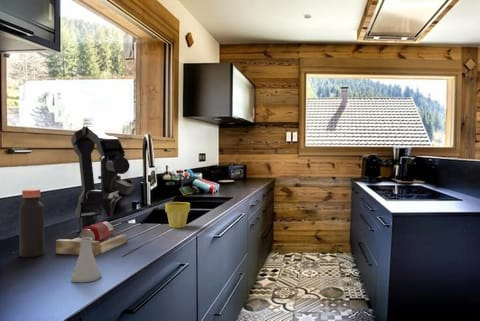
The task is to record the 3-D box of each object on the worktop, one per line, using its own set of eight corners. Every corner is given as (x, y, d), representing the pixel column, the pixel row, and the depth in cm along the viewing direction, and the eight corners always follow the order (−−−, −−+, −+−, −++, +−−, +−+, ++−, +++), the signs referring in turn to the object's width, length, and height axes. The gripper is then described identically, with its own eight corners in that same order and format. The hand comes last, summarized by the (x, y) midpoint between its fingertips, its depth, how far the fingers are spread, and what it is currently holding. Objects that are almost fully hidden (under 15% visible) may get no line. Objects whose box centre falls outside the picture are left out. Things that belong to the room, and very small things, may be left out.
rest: (56, 253, 118) (55, 240, 118) (90, 240, 136) (90, 229, 136) (95, 255, 115) (95, 242, 115) (126, 242, 133) (126, 230, 133)
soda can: (109, 217, 136) (90, 224, 124) (118, 234, 136) (99, 242, 124) (94, 226, 137) (74, 233, 125) (103, 242, 137) (83, 251, 125)
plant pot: (194, 225, 163) (194, 202, 163) (181, 229, 154) (180, 205, 153) (175, 223, 167) (174, 201, 167) (160, 227, 158) (160, 204, 158)
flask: (76, 274, 98) (76, 235, 98) (105, 273, 98) (104, 235, 98) (65, 284, 91) (65, 242, 90) (97, 283, 91) (96, 241, 91)
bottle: (14, 256, 115) (13, 190, 114) (33, 251, 121) (32, 188, 121) (31, 258, 112) (30, 191, 112) (49, 252, 119) (48, 189, 118)
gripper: (115, 174, 124) (115, 222, 124) (142, 171, 142) (142, 213, 143) (85, 174, 126) (85, 221, 127) (115, 171, 145) (116, 212, 145)
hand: (109, 216), depth 135 cm, fingers closed
